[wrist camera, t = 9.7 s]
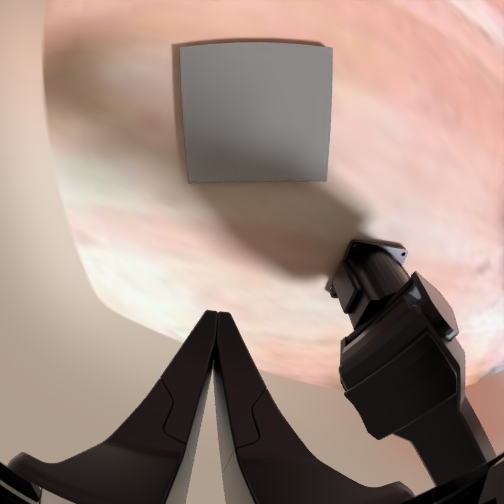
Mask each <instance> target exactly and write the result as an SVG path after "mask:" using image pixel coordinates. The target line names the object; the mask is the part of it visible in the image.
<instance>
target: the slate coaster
mask: <svg viewBox="0 0 504 504" xmlns="http://www.w3.org/2000/svg"><path fill="white" fill-rule="evenodd" d="M332 65H333V48H330V47H322V46H314V45H304V44H292V43H271V42H238V43H218V44H205V45H195V46H187V47H180V72H181V95H182V112H183V127H184V140H185V152H186V163H187V173H188V183H189V184H192V183H210V182H236V181H326V179H327V168H328V155H329V142H330V125H331V105H332Z"/></svg>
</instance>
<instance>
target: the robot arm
mask: <svg viewBox="0 0 504 504" xmlns="http://www.w3.org/2000/svg"><path fill="white" fill-rule="evenodd" d="M355 244H357V245H356V246H355V247H353V246H354V245H355ZM407 254H408V251H407V250H406V249H405V248H404V247H398V246H393V245H387V244H381V243H375V242H369V241H363V240H356V239H355V240H352V241H351V242H350V243H349V246H348V248H347V251H346V254H345V256H344V259H343V260H342V261H341V263H340V265H339V268H338V270H337V272H336V275H335V277H334V280H333V285H332V288H331V290H330V295H331V297H332V298H339V301H340V304H341V306H342V309H343V311H344V313H345V314H348V315H349V317H350V320H351V323H352V326H353V328H354V330H355V331H353V332H352V333H351V334H350V335H349V336H347V337H345V338H343V339H342V340H341V354H340V366H339V374H340V380H341V384H342V386H343V388H344V390H345V391H346V392H345V393H344V395H345V397H346V398H347V399H348V400H349V401H350V402H351V403H352V404H353V405H354V407H355V408H356V410H357V411H358V412H359V414H360V416H361V418H362V420H363V422H364V425H365V427H366V429H367V431H368V433H369V434H371V435H372V436H373V437H375V438H376V439H378V440H381V439H383V438H385V437H387V436H388V435H391V434H393V435H395V436H398V437H400V438H402V439H405V440H407V441H409V442H411V444H412V445H413V447H414V448H415V450H416V452H417V454H418V455H419V457H420V459H421V461H422V462H423V464H424V466H425V468H426V469H427V471H428V473H429V475H430V477H431V479H432V481H433V482H434V484H435V486H436V487H434V488H432V489H430V490H427V491H425V492H423V493H420V494H418V495H416V496H415V495H414V494H413V492H412V491H411V490H410V489H409V488H408V487H407V486H405V485H404V484H403V483H401V482H400V481H398V482H394V483H391V484H388V485H384V486H381V487H376V488H374V487H367V486H363V485H361V484H359V483H357V482H355V481H353V480H352V479H349V478H348V477H346V476H344V475H343V474H341V473H339V472H338V471H336V470H334V469H332V468H331V467H329V466H328V465H326V464H324V463H323V462H321V461H320V460H318V459H317V458H316V457H315V456H314V455H313V454H312V453H311V452H310V451H309V450H308V449H307V447H306V446H305V445H304V443H303V442H302V441H301V440H300V438H299V437H298V436H297V434H296V433H295V432H294V430H293V429H292V428H291V426H290V425H289V424H288V422H287V421H286V419H285V418H284V416H283V415H282V413H281V412H280V410H279V409H278V407H277V405H276V404H275V402H274V400H273V398H272V396H271V394H270V393H269V391H268V389H266V388H267V387H266V385H265V383H264V381H263V379H262V377H261V375H260V373H259V371H258V369H257V367H256V365H255V363H254V361H253V359H252V357H251V355H250V353H249V351H248V349H247V347H246V345H245V343H244V341H243V339H242V337H241V335H240V332H239V330H238V328H237V326H236V324H235V322H234V320H233V318H232V316H231V314H230V313H229V312H221V311H220V312H217V311H212V310H206V311H205V312H204V314H203V315H202V317H201V318H200V320H199V321H198V323H197V324H196V325H195V327H194V328H193V330H192V331H191V333H190V334H189V336H188V337H187V339H186V340H185V342H184V343H183V345H182V346H181V348H180V349H179V351H178V352H177V354H176V355H175V356H174V358H173V359H172V361H171V362H170V364H169V365H168V367H167V368H166V369H165V371H164V372H163V374H162V375H161V377H160V378H161V379H159V380H158V381H157V383H156V384H155V386H154V387H153V388H152V390H151V391H150V392H149V394H148V395H147V396H146V398H145V399H144V400H143V401H142V402H141V404H140V405H139V406H138V407H137V408H136V409H135V410H134V412H133V413H132V414H131V415H130V416H129V417H128V418H127V419H126V420H125V421H124V422H123V424H121V426H120V427H119V428H118V429H117V430H116V431H115V432H114V433H113V434H112V435H111V436H110V437H108V438H107V439H106V440H105V441H103V442H102V443H100V444H98V445H96V446H94V447H92V448H90V449H88V450H86V451H84V452H82V453H79V454H77V455H75V456H73V457H71V458H69V459H66V460H64V461H62V462H59V463H45V462H42V461H40V460H38V459H36V458H34V457H32V456H30V455H28V454H27V453H24V452H21V453H20V454H18V455H17V456H15V457H14V458H13V459H12V460H11V461H10V462H9V463H8V465H7V466H6V465H4V464H3V463H2V462H0V504H185V503H186V497H187V492H188V487H189V481H190V477H191V471H192V467H193V461H194V457H195V452H196V447H197V441H198V437H199V432H200V427H201V423H202V418H203V413H204V408H205V403H206V399H207V394H208V389H209V384H210V380H211V375H212V370H213V379H214V393H215V405H216V417H217V430H218V440H219V450H220V459H221V468H222V477H223V485H224V493H225V501H226V504H504V451H503V452H502V453H500V454H498V455H497V456H496V454H495V452H494V450H493V448H492V446H491V443H490V441H489V439H488V437H487V435H486V433H485V431H484V430H483V427H482V425H481V424H480V422H479V420H478V418H477V416H476V414H475V413H474V410H473V409H472V407H471V405H470V403H469V402H468V400H467V398H466V396H465V352H464V350H463V349H462V347H461V345H460V344H459V342H458V341H457V339H456V338H455V337H456V336H457V335H458V334H459V330H458V326H457V322H456V319H455V315H454V312H453V310H452V308H451V307H450V305H449V304H448V303H447V301H446V300H445V298H444V297H443V296H442V294H441V293H440V292H439V291H438V290H437V289H436V288H435V287H434V286H432V285H431V284H430V283H429V282H428V281H427V280H426V279H424V278H423V277H422V276H421V275H420V274H419V273H417V272H416V271H415V272H414V273H413V274H412V275H411V278H410V276H409V275H408V273H407V272H406V270H405V269H404V268H403V266H402V264H403V262H404V260H405V258H406V256H407ZM335 292H336V293H335ZM39 487H40V488H41V490H40V488H39Z"/></svg>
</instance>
